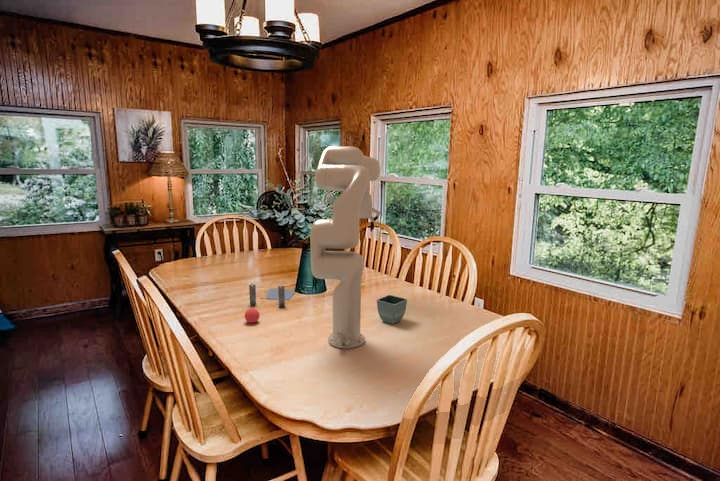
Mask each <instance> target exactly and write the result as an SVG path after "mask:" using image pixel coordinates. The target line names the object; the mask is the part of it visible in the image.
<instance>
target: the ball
mask: <svg viewBox="0 0 720 481" xmlns="http://www.w3.org/2000/svg"><path fill="white" fill-rule="evenodd" d="M244 319H245V321H246V322H247V323H249V324H254V323H256V322H258V321H259V319H260V312H259V311H258V309H257V308H253V307H251V308H248V309H247V310H245V313H244Z"/></svg>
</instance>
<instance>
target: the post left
mask: <svg viewBox="0 0 720 481" xmlns="http://www.w3.org/2000/svg"><path fill="white" fill-rule="evenodd" d="M248 287H249V288H248V289H249V292H248V294H249V306H250V307H251V306H254V307H257V291H256V290H257V289H256V284H249V285H248Z"/></svg>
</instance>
